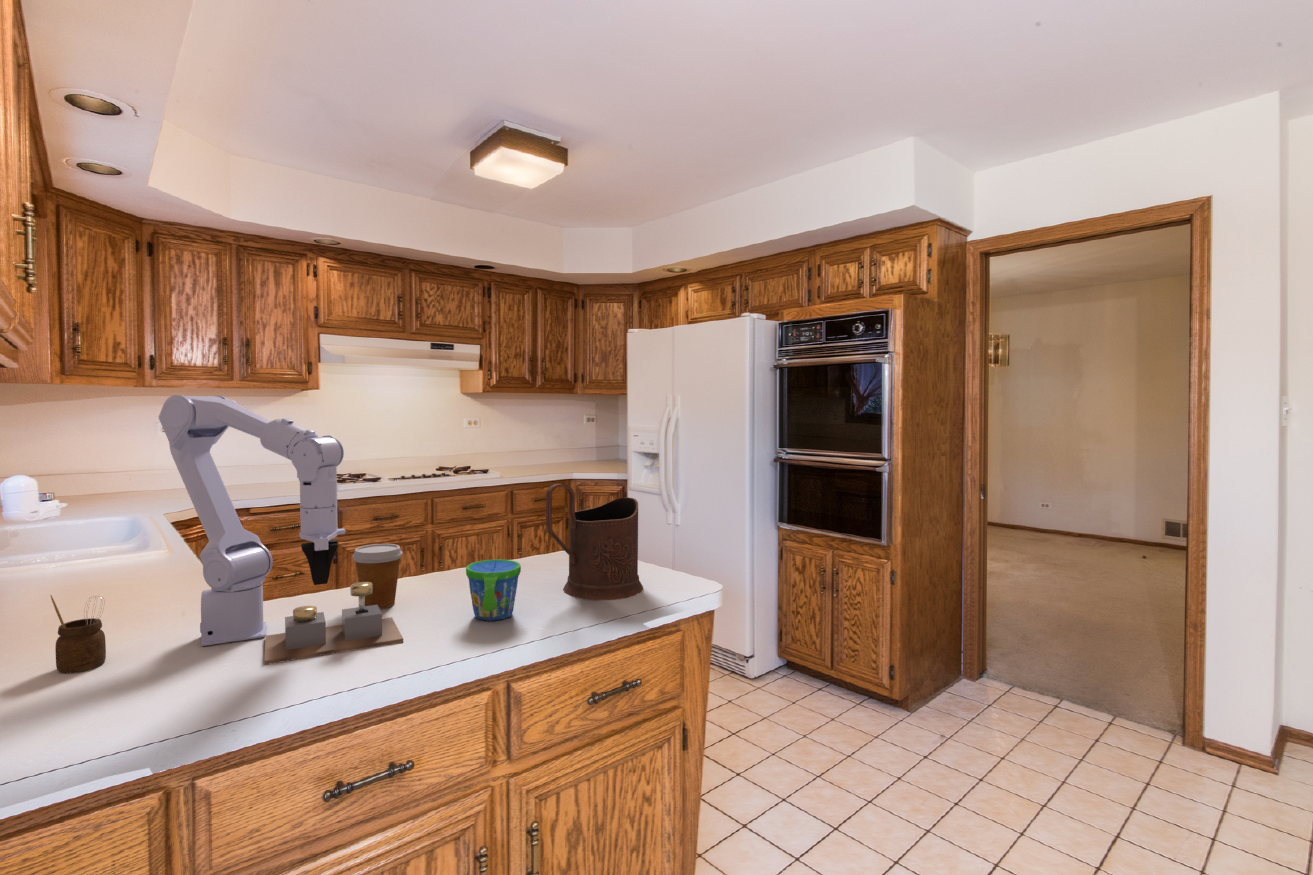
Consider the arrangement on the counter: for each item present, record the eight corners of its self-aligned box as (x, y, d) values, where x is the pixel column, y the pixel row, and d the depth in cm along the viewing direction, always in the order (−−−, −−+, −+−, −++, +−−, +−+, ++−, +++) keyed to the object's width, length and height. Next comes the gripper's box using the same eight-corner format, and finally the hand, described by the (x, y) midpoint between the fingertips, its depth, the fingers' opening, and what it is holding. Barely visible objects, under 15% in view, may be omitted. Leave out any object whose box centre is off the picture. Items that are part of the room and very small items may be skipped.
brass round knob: (351, 619, 115) (351, 588, 115) (349, 613, 118) (349, 583, 118) (373, 616, 117) (373, 585, 117) (371, 610, 120) (371, 581, 120)
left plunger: (293, 645, 111) (293, 613, 111) (293, 638, 114) (292, 607, 114) (317, 641, 113) (317, 610, 112) (316, 635, 116) (316, 604, 115)
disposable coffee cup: (385, 613, 130) (384, 554, 130) (342, 610, 132) (342, 551, 132) (412, 600, 140) (411, 544, 139) (372, 597, 142) (371, 542, 141)
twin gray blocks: (285, 650, 109) (285, 627, 109) (285, 638, 114) (284, 616, 114) (382, 635, 117) (381, 613, 117) (377, 625, 122) (377, 604, 122)
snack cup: (513, 629, 122) (513, 575, 122) (456, 629, 122) (456, 575, 121) (526, 603, 138) (526, 556, 137) (476, 603, 138) (476, 556, 137)
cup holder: (660, 590, 149) (661, 481, 148) (570, 610, 134) (571, 489, 132) (612, 573, 163) (612, 474, 162) (526, 590, 148) (526, 480, 147)
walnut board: (264, 664, 105) (264, 660, 105) (265, 638, 116) (265, 635, 116) (403, 641, 115) (403, 638, 115) (392, 620, 126) (392, 617, 126)
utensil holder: (108, 667, 103) (106, 592, 102) (54, 678, 99) (51, 600, 98) (104, 656, 107) (102, 584, 107) (52, 667, 103) (49, 591, 102)
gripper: (347, 510, 109) (349, 590, 110) (341, 499, 122) (342, 571, 122) (299, 513, 105) (301, 596, 106) (298, 501, 118) (299, 576, 119)
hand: (320, 583), depth 114 cm, fingers closed
